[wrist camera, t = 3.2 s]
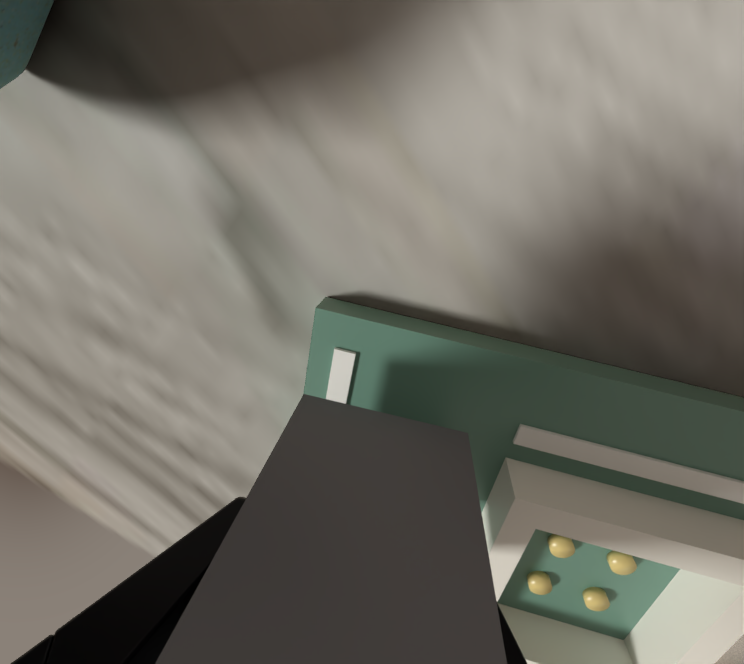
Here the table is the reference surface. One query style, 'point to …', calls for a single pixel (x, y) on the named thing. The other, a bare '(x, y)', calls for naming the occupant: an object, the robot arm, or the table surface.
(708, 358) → the table surface
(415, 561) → the plug
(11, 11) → the flower pot
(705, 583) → the header board
